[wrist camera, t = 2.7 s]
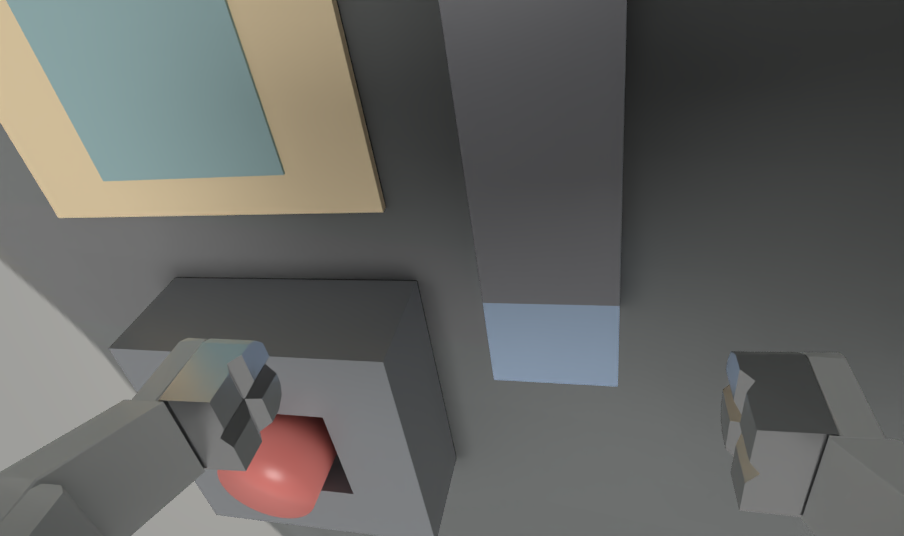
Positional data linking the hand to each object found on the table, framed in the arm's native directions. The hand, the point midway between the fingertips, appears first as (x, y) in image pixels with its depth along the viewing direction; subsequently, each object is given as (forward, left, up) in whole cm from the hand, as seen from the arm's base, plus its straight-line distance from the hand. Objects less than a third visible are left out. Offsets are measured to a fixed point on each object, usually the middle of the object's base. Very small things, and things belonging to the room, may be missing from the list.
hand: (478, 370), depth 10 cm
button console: (+9, +10, -9) cm, 16 cm away
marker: (-1, 0, -9) cm, 9 cm away
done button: (+9, +10, -7) cm, 15 cm away
